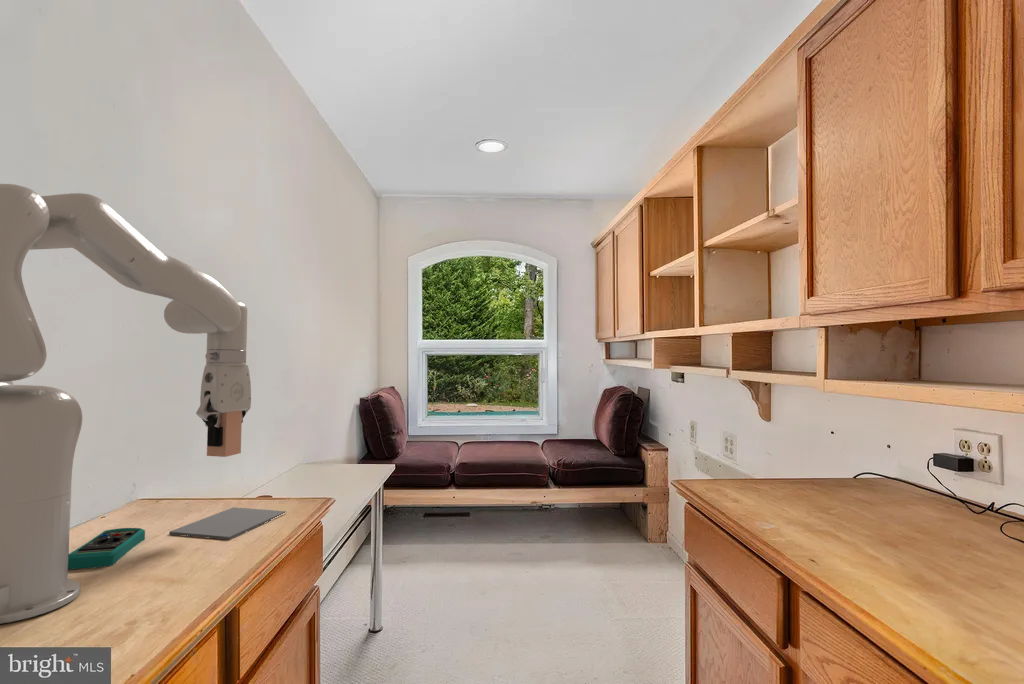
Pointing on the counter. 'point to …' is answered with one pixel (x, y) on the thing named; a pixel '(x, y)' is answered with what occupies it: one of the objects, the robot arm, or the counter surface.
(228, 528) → the mat
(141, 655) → the counter surface
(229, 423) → the block
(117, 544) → the digital multimeter
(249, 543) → the counter surface
